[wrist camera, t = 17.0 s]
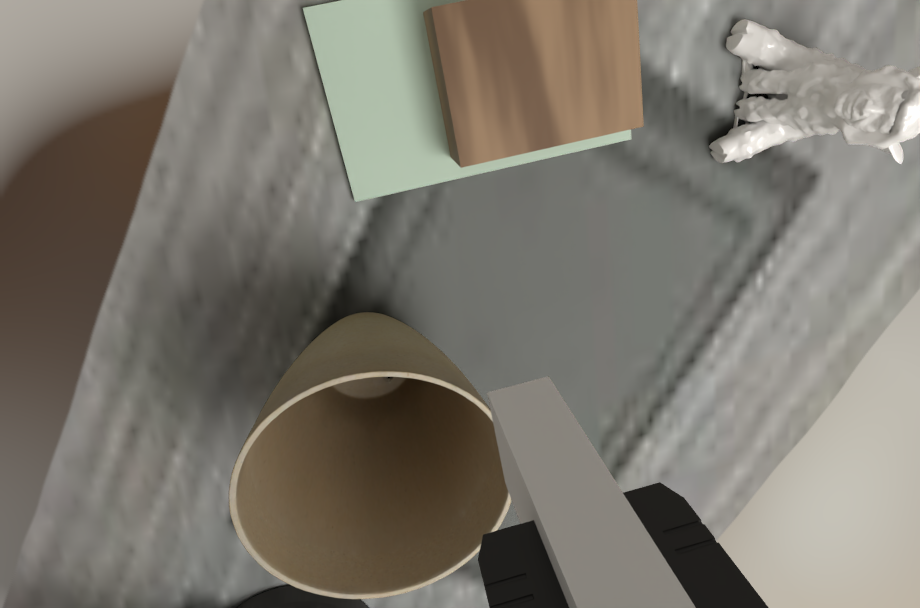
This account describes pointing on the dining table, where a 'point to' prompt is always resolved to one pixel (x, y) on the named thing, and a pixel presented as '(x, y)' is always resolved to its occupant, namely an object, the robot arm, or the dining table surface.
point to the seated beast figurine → (814, 97)
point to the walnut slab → (534, 73)
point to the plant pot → (368, 466)
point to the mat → (394, 97)
